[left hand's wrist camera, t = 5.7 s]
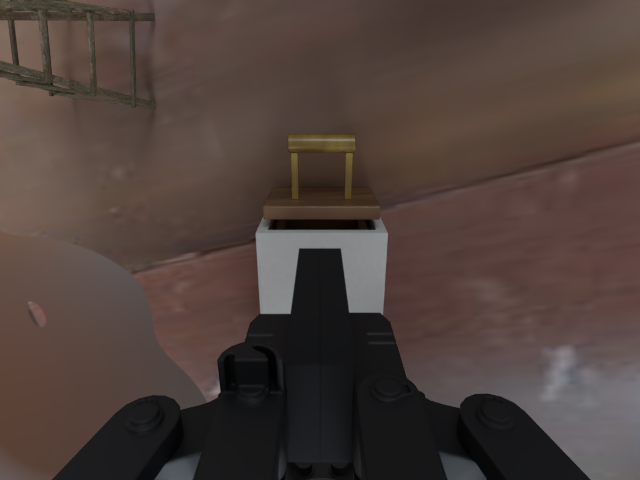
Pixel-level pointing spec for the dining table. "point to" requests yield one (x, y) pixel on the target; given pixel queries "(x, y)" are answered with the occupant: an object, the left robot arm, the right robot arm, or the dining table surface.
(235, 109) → the dining table surface
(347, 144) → the drawer
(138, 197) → the dining table surface
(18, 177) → the dining table surface
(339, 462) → the right robot arm
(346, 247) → the cabinet
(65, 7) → the miniature windmill
